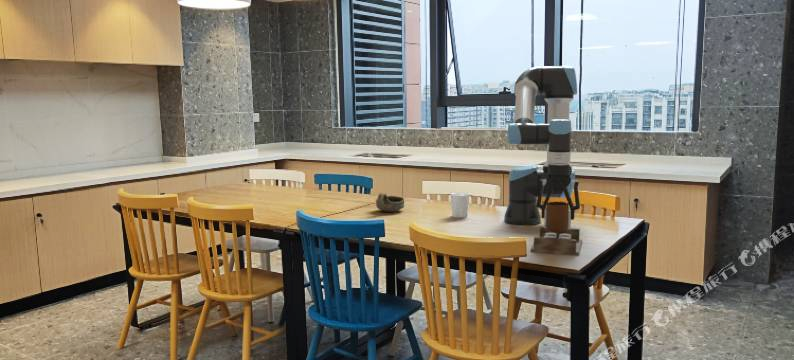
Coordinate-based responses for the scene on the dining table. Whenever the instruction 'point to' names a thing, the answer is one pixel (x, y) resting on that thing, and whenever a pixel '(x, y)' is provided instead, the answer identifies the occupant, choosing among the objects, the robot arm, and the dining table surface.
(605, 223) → the dining table surface
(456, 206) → the white cup
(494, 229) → the dining table surface
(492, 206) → the dining table surface
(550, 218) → the mug
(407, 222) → the dining table surface
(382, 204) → the bowl
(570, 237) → the peg stand
